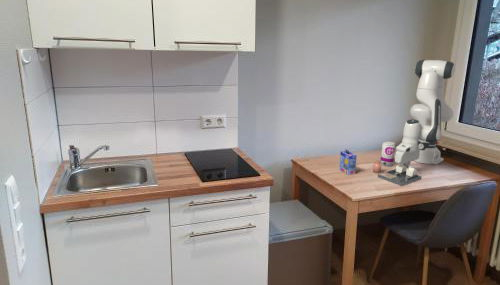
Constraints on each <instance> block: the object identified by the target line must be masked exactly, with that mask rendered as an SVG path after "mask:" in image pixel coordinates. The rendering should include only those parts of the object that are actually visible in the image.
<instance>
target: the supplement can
mask: <svg viewBox="0 0 500 285" xmlns="http://www.w3.org/2000/svg"><path fill="white" fill-rule="evenodd" d="M396 147H397V146H396V143H395V142H394V141H393V142H392V141H383V142H382V145H381V152H380V153H381V154H380V161H379V162H380V163H382V165H381V166H385V167H392V166H393V165H394V162H395V155H396Z"/></svg>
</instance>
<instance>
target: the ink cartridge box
mask: <svg viewBox="0 0 500 285" xmlns="http://www.w3.org/2000/svg"><path fill="white" fill-rule="evenodd" d="M356 165H357V155H356V154H355V153H352V152H351V151H349V150H348V149H346V148H345V149H344V151H343V150H342V151H340V155H339V169H338V170H339V171H341V172H342V173H345V174H346V175H348V176H349V175H355V174H356V167H357V166H356Z"/></svg>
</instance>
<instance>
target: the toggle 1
mask: <svg viewBox="0 0 500 285" xmlns="http://www.w3.org/2000/svg"><path fill="white" fill-rule="evenodd" d="M395 167H396V168H395V169H396V172H399V173H402V172H405V171H407V168H406V166H404V165H403V163H402V164H399V163H398V164H397V165H396V166H395Z"/></svg>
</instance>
